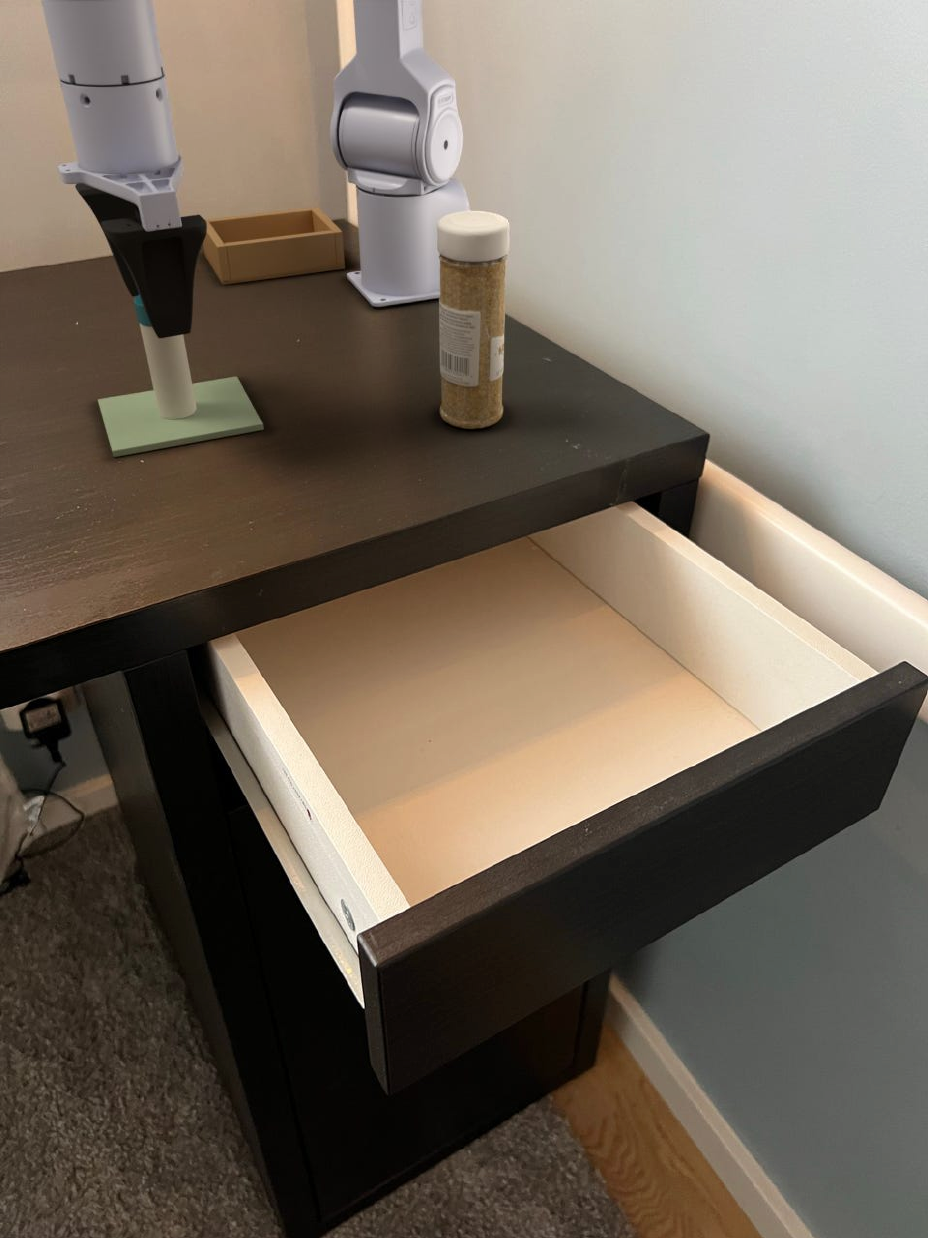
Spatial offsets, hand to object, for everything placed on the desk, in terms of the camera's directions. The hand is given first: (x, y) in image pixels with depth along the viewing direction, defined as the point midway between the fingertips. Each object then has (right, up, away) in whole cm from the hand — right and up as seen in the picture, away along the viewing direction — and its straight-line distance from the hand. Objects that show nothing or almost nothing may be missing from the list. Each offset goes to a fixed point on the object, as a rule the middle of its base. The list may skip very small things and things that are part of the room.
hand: (159, 312), depth 63 cm
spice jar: (+20, -6, +5) cm, 22 cm away
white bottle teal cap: (0, -5, +4) cm, 7 cm away
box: (+2, +14, +29) cm, 32 cm away
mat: (0, -6, +5) cm, 8 cm away
